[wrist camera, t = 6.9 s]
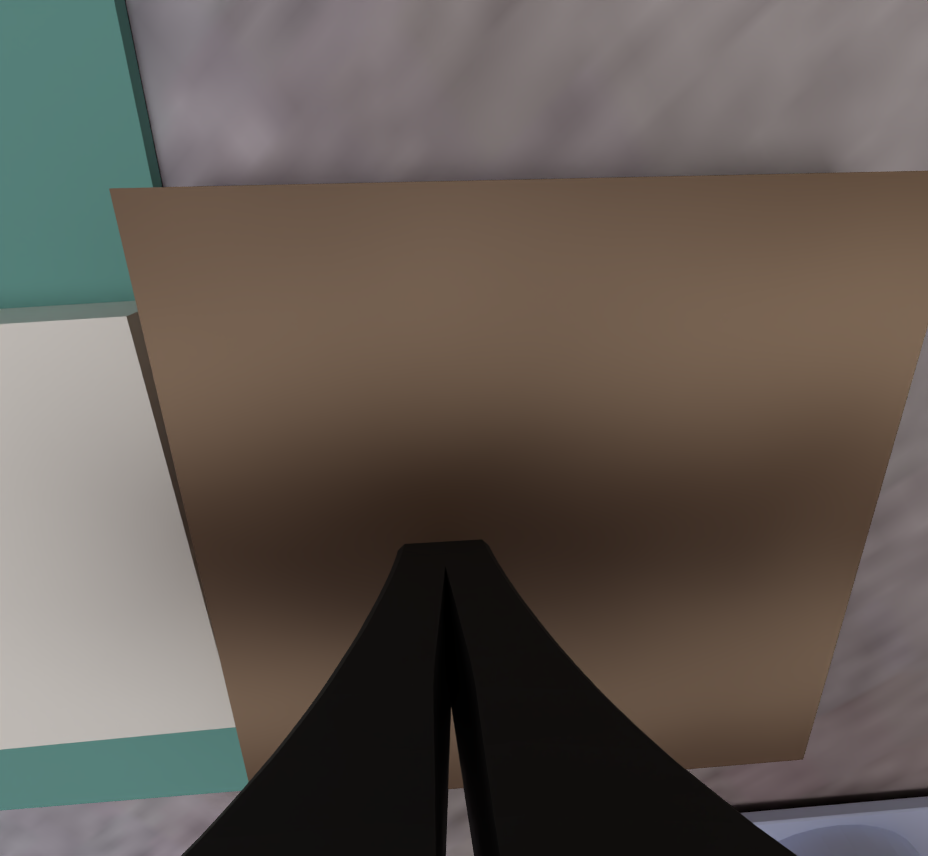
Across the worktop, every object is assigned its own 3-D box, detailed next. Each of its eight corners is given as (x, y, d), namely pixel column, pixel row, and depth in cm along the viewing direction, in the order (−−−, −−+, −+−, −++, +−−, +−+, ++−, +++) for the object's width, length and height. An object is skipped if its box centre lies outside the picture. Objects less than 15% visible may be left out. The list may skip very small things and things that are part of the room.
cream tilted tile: (256, 670, 14) (238, 727, 13) (2, 694, 14) (-48, 754, 12) (166, 299, 11) (126, 316, 9) (-175, 319, 10) (-274, 340, 9)
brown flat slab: (735, 659, 16) (803, 759, 13) (284, 691, 15) (253, 805, 12) (833, 174, 11) (973, 169, 8) (191, 188, 10) (109, 188, 8)
